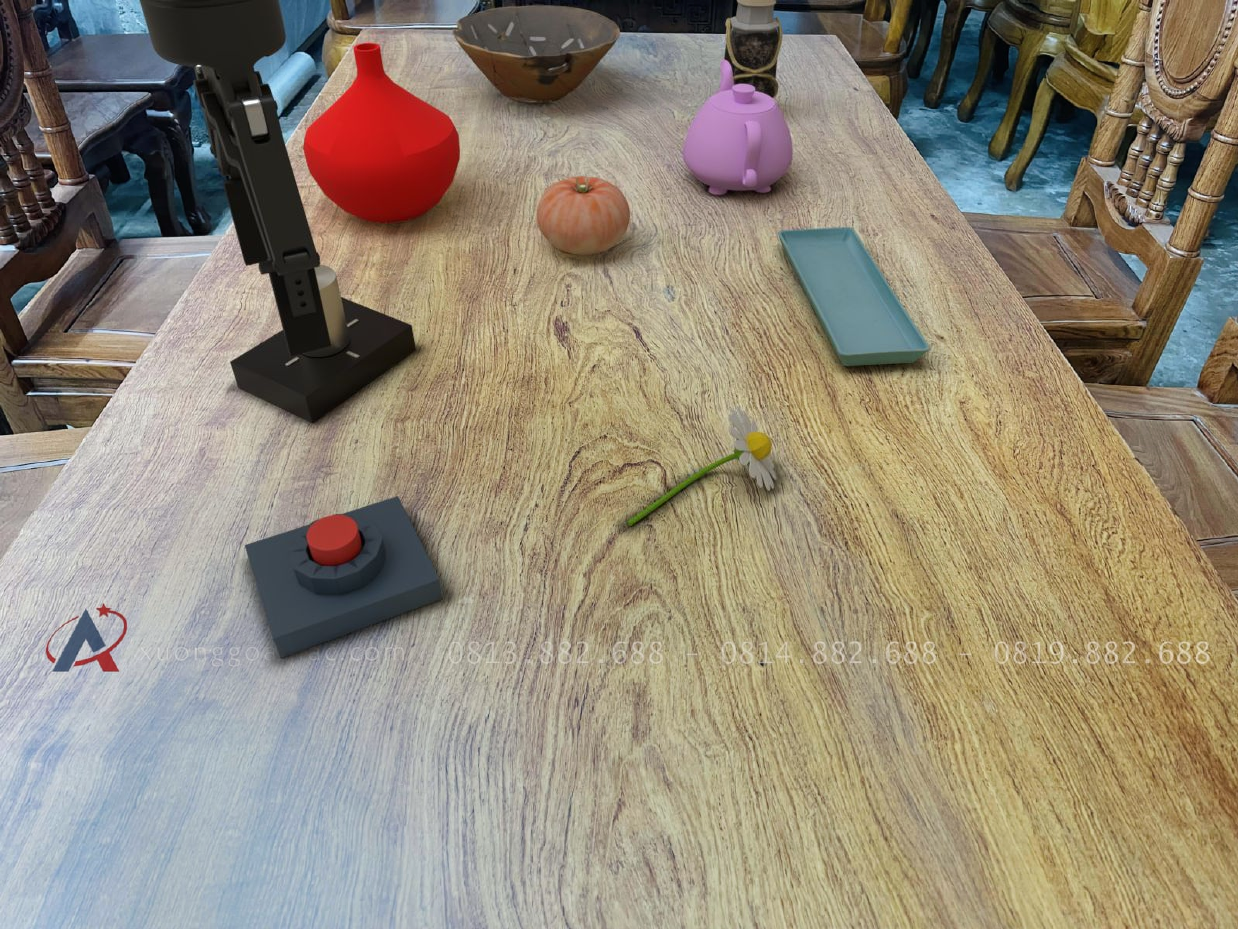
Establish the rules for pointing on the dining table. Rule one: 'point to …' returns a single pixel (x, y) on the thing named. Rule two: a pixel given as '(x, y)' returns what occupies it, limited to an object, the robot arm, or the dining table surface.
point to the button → (334, 540)
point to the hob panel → (325, 364)
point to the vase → (382, 147)
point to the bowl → (536, 48)
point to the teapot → (738, 139)
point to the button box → (342, 579)
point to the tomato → (583, 215)
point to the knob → (331, 313)
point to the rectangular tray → (852, 297)
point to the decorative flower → (746, 449)
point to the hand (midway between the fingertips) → (285, 301)
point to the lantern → (754, 45)
